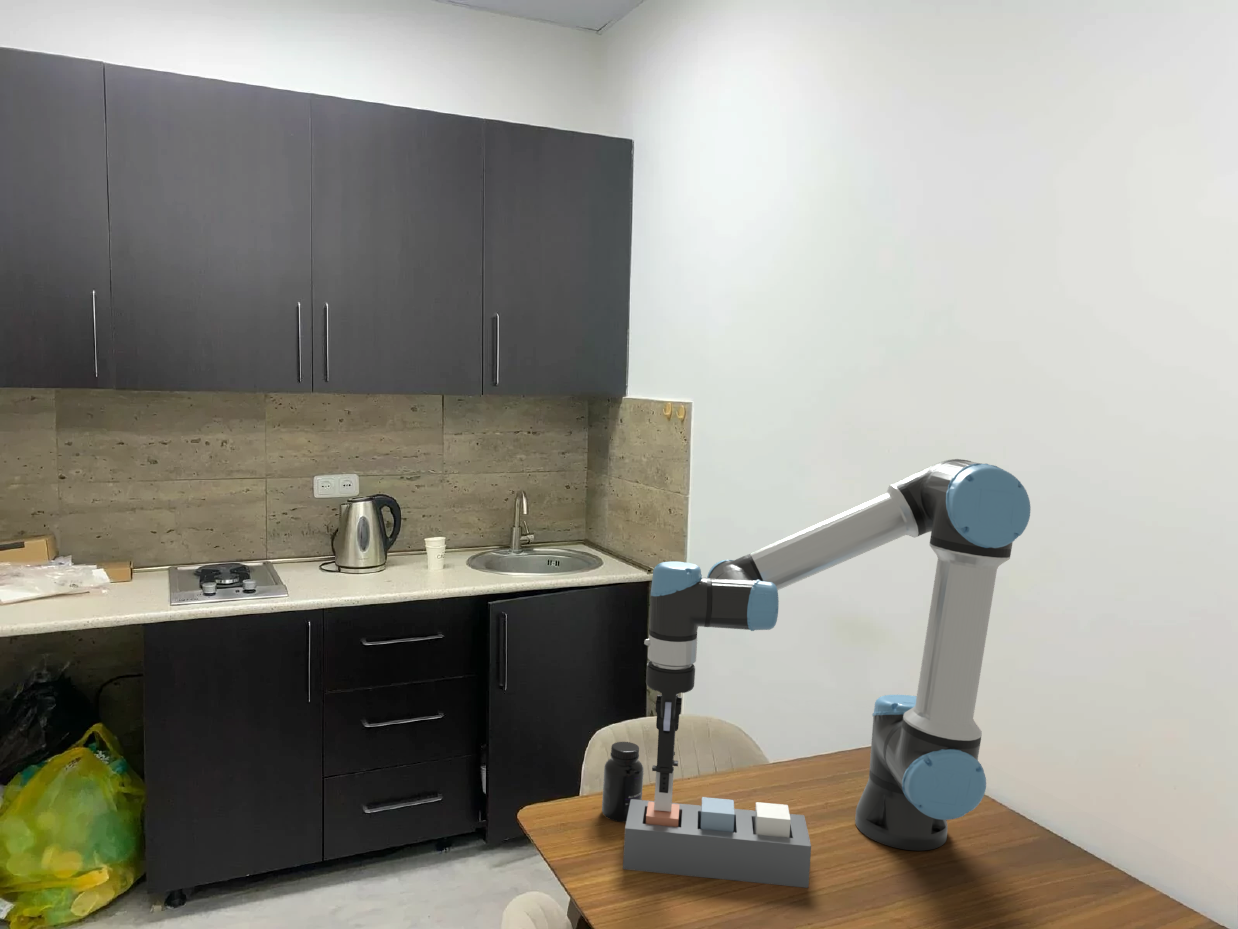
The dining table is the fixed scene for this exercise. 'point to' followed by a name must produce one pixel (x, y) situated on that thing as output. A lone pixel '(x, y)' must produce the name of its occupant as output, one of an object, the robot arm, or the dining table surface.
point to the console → (717, 848)
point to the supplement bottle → (622, 780)
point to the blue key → (717, 814)
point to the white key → (772, 820)
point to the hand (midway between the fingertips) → (662, 808)
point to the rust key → (662, 816)
